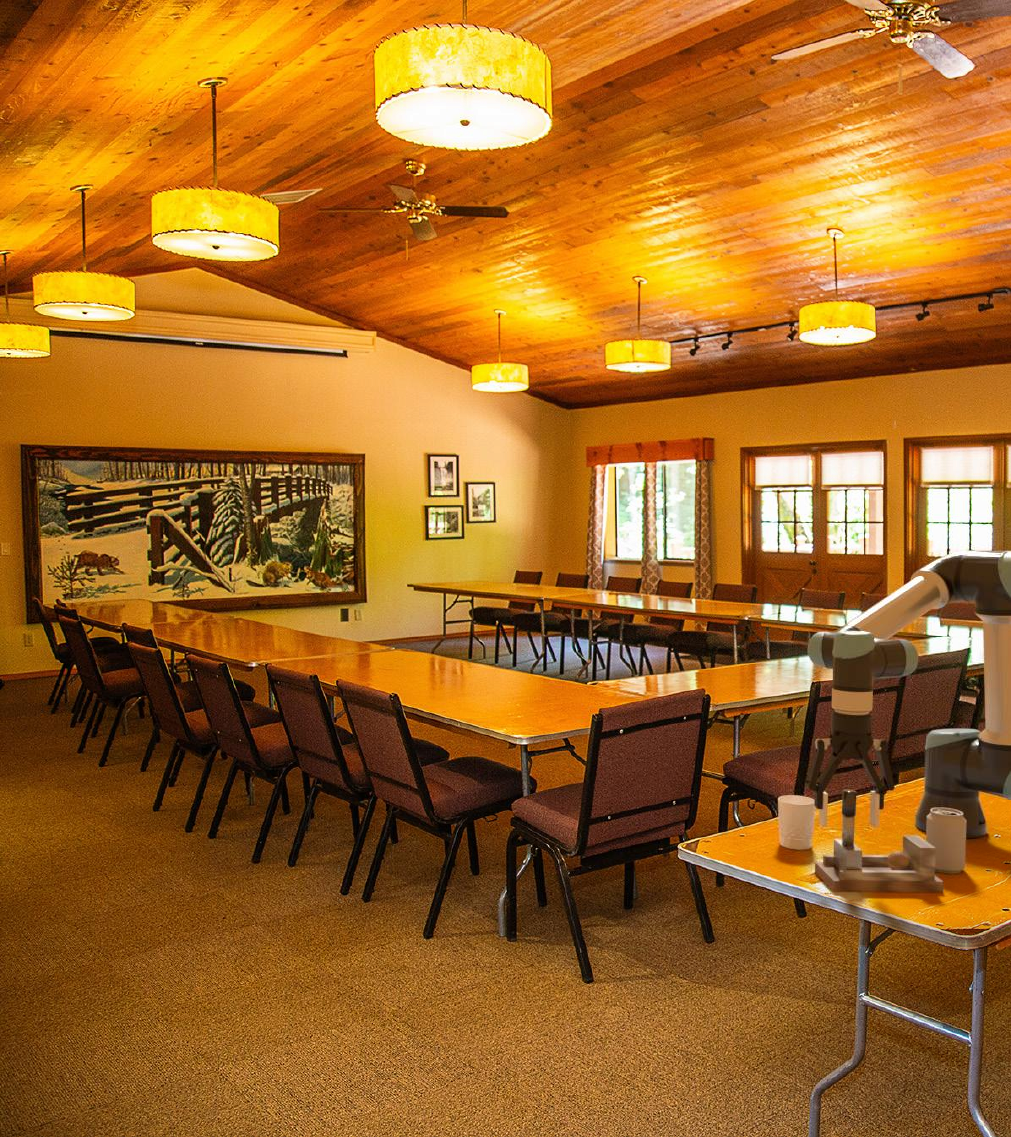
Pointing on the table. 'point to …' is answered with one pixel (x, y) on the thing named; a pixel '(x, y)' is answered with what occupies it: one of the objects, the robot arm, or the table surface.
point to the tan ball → (898, 861)
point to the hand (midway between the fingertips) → (848, 825)
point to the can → (947, 839)
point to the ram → (847, 836)
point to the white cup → (796, 821)
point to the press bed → (886, 871)
